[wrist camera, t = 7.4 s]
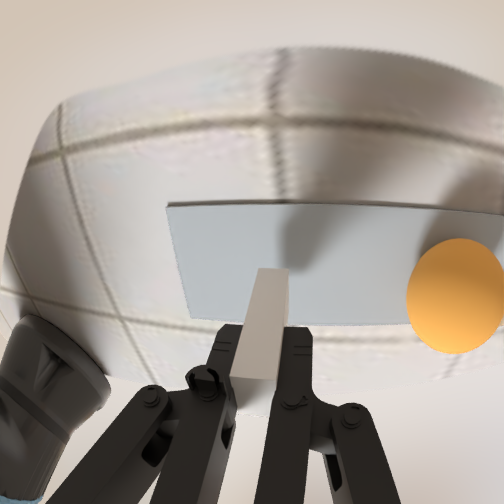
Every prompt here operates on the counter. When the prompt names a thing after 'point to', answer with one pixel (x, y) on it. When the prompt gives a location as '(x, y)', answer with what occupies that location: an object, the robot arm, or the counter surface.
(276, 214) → the lane mark
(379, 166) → the counter surface
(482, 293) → the ball
